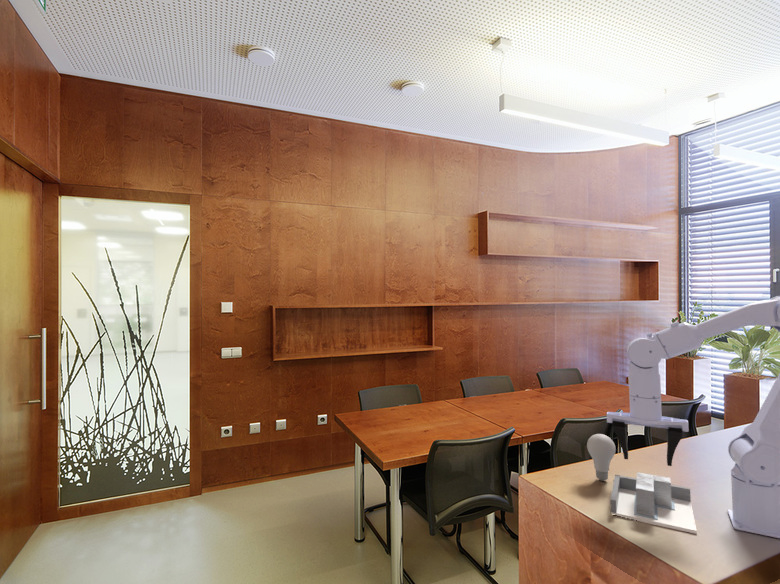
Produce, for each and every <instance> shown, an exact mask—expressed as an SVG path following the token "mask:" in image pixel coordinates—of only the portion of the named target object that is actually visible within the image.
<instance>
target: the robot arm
mask: <svg viewBox="0 0 780 584" xmlns="http://www.w3.org/2000/svg"><path fill="white" fill-rule="evenodd" d="M669 325H670V327H667V328H664V329H661V330H659V331H656V332H653V333H652V331H650V332H647V333H646V334H645V335H646V337H647V338H646V337H637V338H635V339H633V340H631V341H630V343H629V344H628V345H627V349H626V355H627V357H628V358H629V363H628V370H629V372H628V393H629V394H628V395H629V396H628V397H629V412H622V411H621V412H618V411H617V412H615V411H607V412H606V423H609V424H612V430H613V432H614V433H615V435H616V437H617V439H618V442H619V445H620V446H621V447H620V448H621V449H622V453H623V459H624V460H629V448H628V440H627V439H628V438H627V436H628V435H627V434H628V433H627V425H633V426H641V427H648V428H649V427H651V428H658V429H666V440H667V441H666V444H667V446H666V447H667V448H666V465H667V466H668V467H672V466H673V465H672V464H673V459H674V455H675V452H676V449H677V447H678V445H679V443H680V441H681V440H682V437H683V432H687V433H688V432H689V430H690V429H689V420H687V419H682V418H681V419H680V418H675V417H669V416H665V415H663V414H662V413H663V411H662V390H661V389H662V388H661V373H660V371H659V367H660V366H659V363H660V362H661V360H662V359H664V360H669V359H672V358H675V357H678V356H680V355H684V354H686V353H689V352H693V351H695V350H698V349H701V346H702V344H703V341H705V340H706V339H710V338H713V337H716V336H719V335H722V334H726V333H729V332H732V331H736V330H738V329H741V328H745V327H747V326H766V327H773V328H774V329H775V330H777V332H778V333H780V295H776V296H774V297H772V298H769V299H763V300H758V301H754V302H752V303H748V304H745V305H742V306H740V307H737V308H734V309H732V310H729V311H726V312H724V313H722V314H718V315H716V316H714V317H712V318H710V319H707V320H704V321H703V322H702V321H701V322H699V323H697V324H692V323H690V322H686V321H683V322H681V323H679V322H678V321H674V322H672V323H670V324H669ZM662 415H663V416H662ZM727 451H728V455H729V457H730V459H731V460H732V461H733V462H735V464H734V466H733V468H731V469H730V476H731V477H730V479H731V482H730V483H731V504H732V506H731V507H732V508H728V509H727V513H728V516H729V519H730V521H731V522H730V523H731V524H732V528H733V529H735V530H736V531H737V530H738V531H742V532H747V533H752V534H757V535H761V536H766V537H772V538H777V539H780V372H779V373H778V376H777V377H776V379H775V381H774V382H773V384H772V386H771V388H770V390H769V391H768V393H767V395H766V398H765V400H764V401H763V403H762V405H761V407H760V409H759V410H758V412H757V415H756V416H755V418H754V419H753V422H752V423H750V424H749V425H747V426H745V427H744V429H743V431H742V432H741V434H739V435H738V436H736V437H735V438H733V439H731V441H730V442H729V444H728V449H727Z"/></svg>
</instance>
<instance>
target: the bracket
mask: <svg viewBox="0 0 780 584" xmlns="http://www.w3.org/2000/svg"><path fill="white" fill-rule="evenodd" d="M636 478H637V479H636V504H637V514H640V515H645V516H650V517H654V518H655V511H654V505H659V506H664V507H669V508H672V500H671V484H672V482H671V477H667V476H661V475H655V474H649V473H644V472H638V471H637V472H636Z"/></svg>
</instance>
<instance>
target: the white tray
mask: <svg viewBox="0 0 780 584" xmlns="http://www.w3.org/2000/svg"><path fill="white" fill-rule="evenodd" d="M636 479H637V477H631V476H630V477H629V476H625V475H619V474H614V479H613V483H612V489H611V493H610V498H609V500H610V515H611V514H615V515H618V516H622V517H627V518H631V519H634V520H633V521H636V520H637V521H636V522H641V523H644V524H649V525H655V526H659V527H663V528H667V529H671V530H672V529H673V530H677V531H681V532H687V533H691V534H693V535H694V534H696V535H697V534H698V533H697V532H698V531H697V526H696V521H695V516H694V512H693V506H692V503H691V502H692V500H691V498H692V497H691V487H690V486H689V487H688V486H682V485H676V484H672V483H671V500H672V508H669V507H664V506H659V505H654V511H655V518H654V517H650V516H645V515H640V514H637V504H636ZM622 517H621V518H622ZM627 518H626V519H627ZM631 519H630V520H631Z"/></svg>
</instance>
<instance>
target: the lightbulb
mask: <svg viewBox="0 0 780 584" xmlns="http://www.w3.org/2000/svg"><path fill="white" fill-rule="evenodd" d="M586 448H587V451H588V454H589V455H590V457H591V458H592V461H593V466H594V470H595V476H596V478H597V479H598V480H599V481H600V482H605V481H607V480H608V479H609V471H610V465H611V461H612V459H613V458H614V456H615V454H616V451H617V449H616V445H615V442H614V441H613V439H611V437H609V436H607V435H605V434H603V433H596V434H592V435H591V436H590V437H589V438H588V439H587V443H586Z"/></svg>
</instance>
